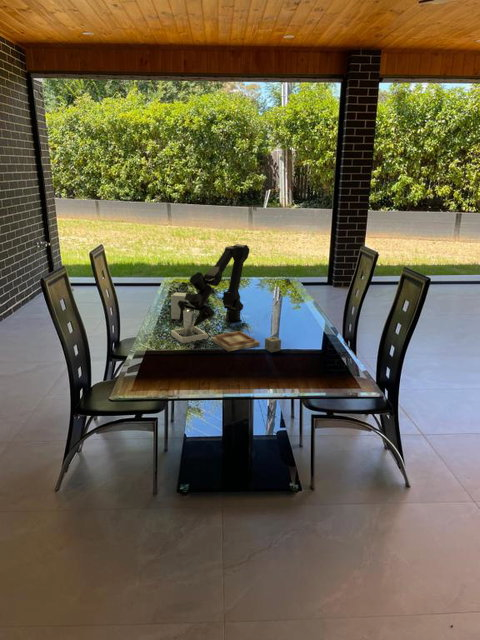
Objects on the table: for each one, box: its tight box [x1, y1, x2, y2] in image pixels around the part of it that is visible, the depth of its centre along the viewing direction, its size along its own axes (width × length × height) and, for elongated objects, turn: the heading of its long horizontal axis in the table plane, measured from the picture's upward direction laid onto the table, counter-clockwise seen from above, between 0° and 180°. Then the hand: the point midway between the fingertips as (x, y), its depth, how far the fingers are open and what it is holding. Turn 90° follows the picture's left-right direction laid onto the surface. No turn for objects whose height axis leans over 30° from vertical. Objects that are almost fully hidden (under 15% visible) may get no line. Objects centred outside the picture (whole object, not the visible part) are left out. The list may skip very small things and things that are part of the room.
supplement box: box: [170, 292, 189, 320], centre depth 265 cm, size 7×7×13 cm
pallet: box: [211, 331, 261, 352], centre depth 230 cm, size 16×16×3 cm
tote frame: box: [170, 326, 208, 344], centre depth 236 cm, size 13×13×2 cm
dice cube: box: [264, 336, 282, 353], centre depth 222 cm, size 5×5×5 cm
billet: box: [182, 309, 196, 337], centre depth 235 cm, size 5×5×13 cm
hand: (187, 323), depth 234 cm, fingers open, 9 cm apart
